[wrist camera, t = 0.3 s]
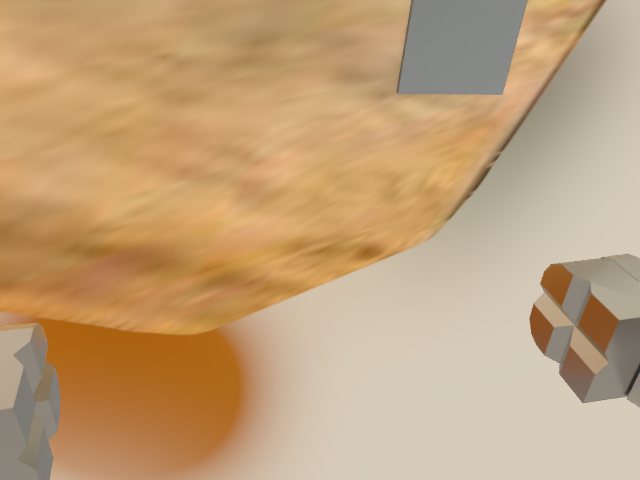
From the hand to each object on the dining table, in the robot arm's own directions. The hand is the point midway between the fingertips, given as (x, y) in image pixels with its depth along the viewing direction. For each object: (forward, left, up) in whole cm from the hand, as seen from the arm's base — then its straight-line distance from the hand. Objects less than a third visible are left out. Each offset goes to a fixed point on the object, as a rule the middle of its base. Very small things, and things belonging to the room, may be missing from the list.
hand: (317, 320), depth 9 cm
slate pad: (+4, +27, -47) cm, 54 cm away
